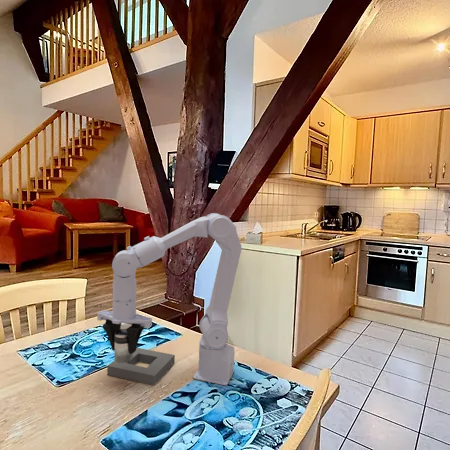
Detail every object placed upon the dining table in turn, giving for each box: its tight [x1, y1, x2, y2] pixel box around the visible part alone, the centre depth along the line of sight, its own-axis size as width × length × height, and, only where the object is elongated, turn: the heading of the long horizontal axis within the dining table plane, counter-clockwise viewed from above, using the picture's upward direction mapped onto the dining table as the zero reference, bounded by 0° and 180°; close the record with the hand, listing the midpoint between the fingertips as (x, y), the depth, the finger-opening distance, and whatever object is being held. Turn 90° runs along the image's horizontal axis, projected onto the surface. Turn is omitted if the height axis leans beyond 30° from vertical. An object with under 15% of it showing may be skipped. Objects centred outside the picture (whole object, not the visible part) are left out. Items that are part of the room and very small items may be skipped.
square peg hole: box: [106, 347, 176, 386], centre depth 93 cm, size 14×12×2 cm
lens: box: [113, 329, 132, 363], centre depth 85 cm, size 4×4×7 cm
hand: (123, 350), depth 86 cm, fingers closed on lens, 4 cm apart
